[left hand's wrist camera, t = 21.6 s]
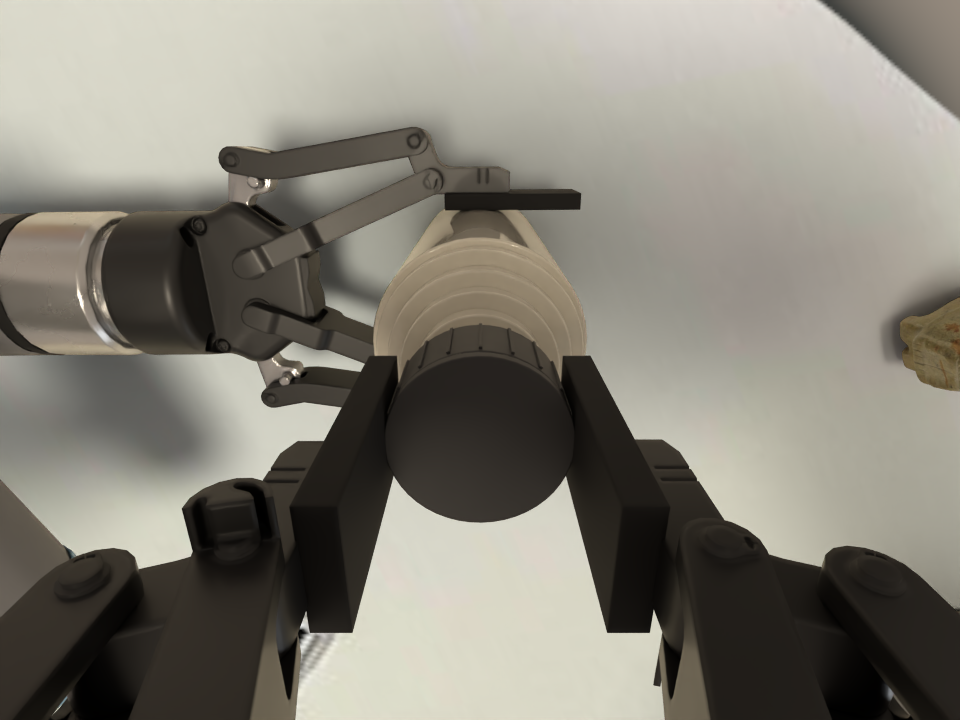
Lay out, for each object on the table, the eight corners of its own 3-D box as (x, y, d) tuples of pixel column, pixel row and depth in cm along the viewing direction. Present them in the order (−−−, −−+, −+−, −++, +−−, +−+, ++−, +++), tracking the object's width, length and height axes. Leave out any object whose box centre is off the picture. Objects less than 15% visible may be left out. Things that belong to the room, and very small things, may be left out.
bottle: (506, 333, 36) (542, 583, 15) (402, 286, 35) (288, 488, 14) (561, 229, 33) (692, 361, 13) (449, 174, 32) (395, 221, 11)
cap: (510, 495, 16) (515, 551, 14) (368, 430, 15) (349, 478, 13) (595, 371, 14) (616, 411, 12) (443, 291, 14) (436, 318, 11)
